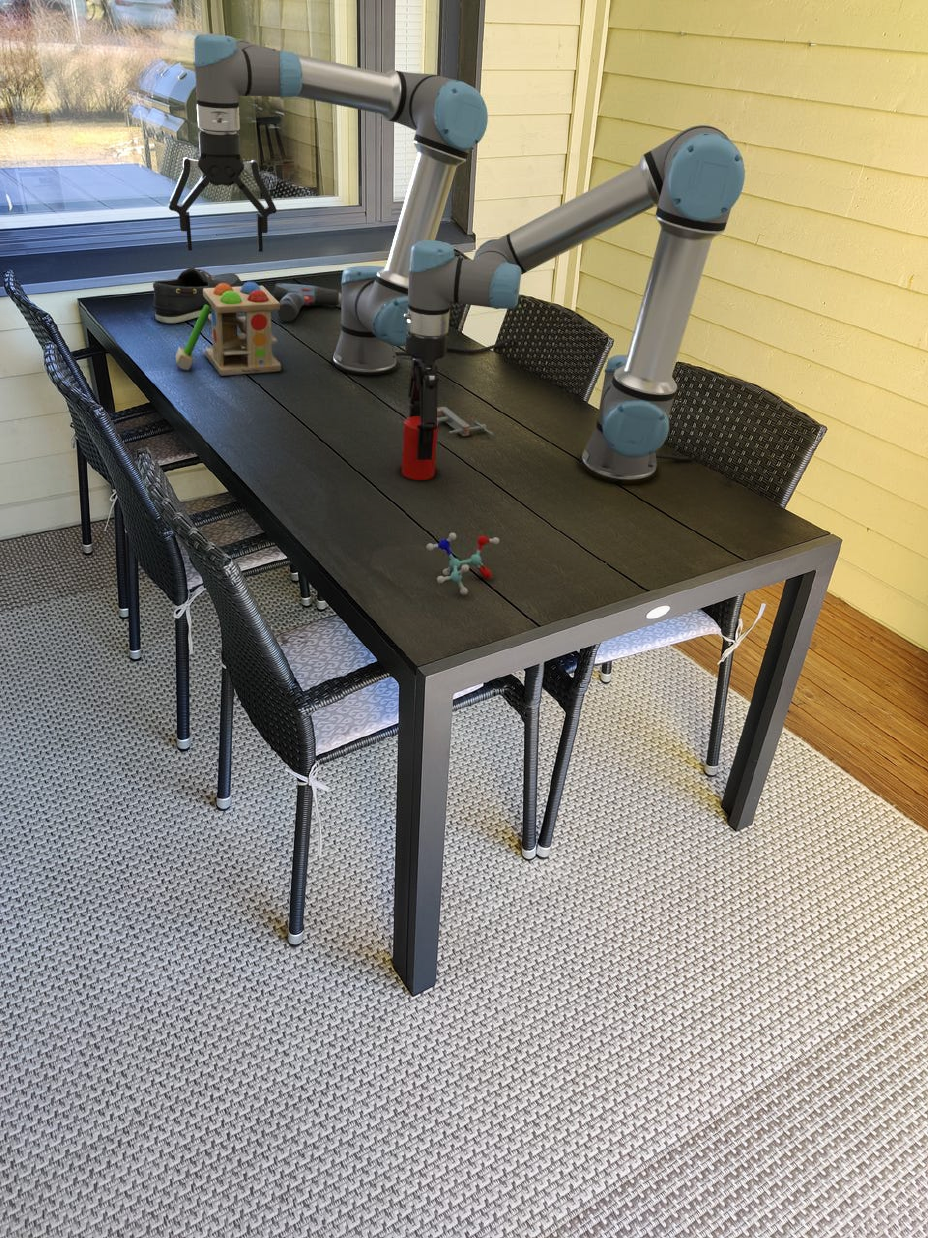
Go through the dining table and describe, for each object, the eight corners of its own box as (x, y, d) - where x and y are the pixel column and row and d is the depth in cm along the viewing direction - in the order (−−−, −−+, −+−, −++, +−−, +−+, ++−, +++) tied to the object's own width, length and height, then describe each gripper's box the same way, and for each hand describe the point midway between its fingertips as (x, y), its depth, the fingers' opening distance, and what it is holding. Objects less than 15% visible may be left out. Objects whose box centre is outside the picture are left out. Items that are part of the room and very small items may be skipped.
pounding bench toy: (183, 379, 220) (176, 299, 210) (169, 357, 231) (162, 280, 221) (282, 371, 230) (280, 294, 220) (264, 350, 240) (262, 276, 230)
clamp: (420, 409, 212) (460, 403, 217) (420, 418, 213) (460, 412, 218) (454, 436, 202) (496, 430, 206) (454, 446, 203) (495, 439, 208)
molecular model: (490, 589, 152) (470, 528, 150) (436, 605, 155) (416, 545, 154) (511, 574, 162) (492, 517, 161) (460, 589, 166) (441, 533, 164)
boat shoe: (261, 302, 273) (259, 263, 267) (172, 325, 249) (168, 283, 243) (227, 293, 278) (225, 255, 273) (137, 316, 254) (132, 274, 249)
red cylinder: (411, 462, 195) (414, 413, 189) (439, 470, 193) (443, 421, 187) (395, 474, 190) (398, 423, 184) (425, 483, 188) (428, 432, 182)
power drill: (335, 306, 256) (344, 285, 273) (264, 300, 255) (277, 279, 272) (335, 327, 259) (344, 304, 276) (264, 320, 258) (277, 299, 275)
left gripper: (149, 131, 176) (159, 252, 188) (289, 137, 183) (290, 255, 195) (149, 124, 182) (159, 242, 194) (284, 130, 189) (286, 245, 200)
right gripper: (396, 313, 184) (391, 425, 197) (417, 353, 167) (410, 473, 180) (435, 313, 186) (428, 425, 198) (460, 353, 169) (450, 472, 181)
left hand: (225, 249), depth 194 cm, fingers open, 13 cm apart
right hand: (419, 448), depth 189 cm, fingers open, 9 cm apart
